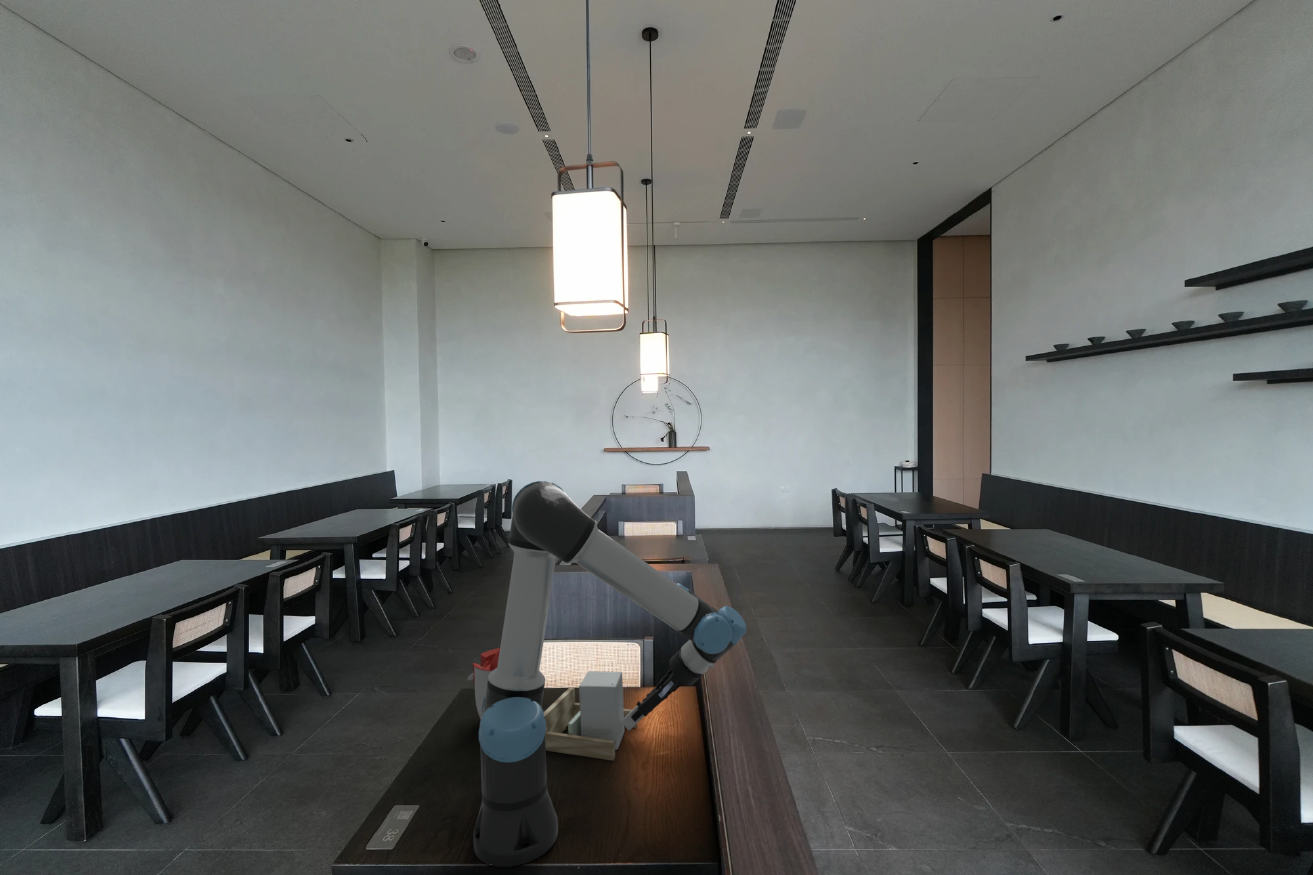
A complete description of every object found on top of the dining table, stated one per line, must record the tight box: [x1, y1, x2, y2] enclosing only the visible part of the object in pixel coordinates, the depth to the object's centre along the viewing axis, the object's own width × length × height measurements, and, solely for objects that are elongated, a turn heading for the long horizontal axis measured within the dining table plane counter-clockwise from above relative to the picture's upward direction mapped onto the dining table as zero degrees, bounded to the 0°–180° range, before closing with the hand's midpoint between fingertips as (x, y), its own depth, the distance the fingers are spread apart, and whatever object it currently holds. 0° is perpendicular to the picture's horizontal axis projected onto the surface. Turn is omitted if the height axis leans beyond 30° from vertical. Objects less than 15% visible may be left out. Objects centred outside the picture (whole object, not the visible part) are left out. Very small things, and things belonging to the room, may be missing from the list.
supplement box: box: [578, 670, 625, 751], centre depth 142 cm, size 9×9×15 cm
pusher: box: [567, 711, 581, 736], centre depth 144 cm, size 13×1×6 cm, turn 162°
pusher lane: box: [543, 686, 638, 761], centre depth 143 cm, size 16×18×8 cm
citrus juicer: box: [467, 647, 500, 721], centre depth 151 cm, size 16×17×20 cm
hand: (626, 724), depth 140 cm, fingers closed
